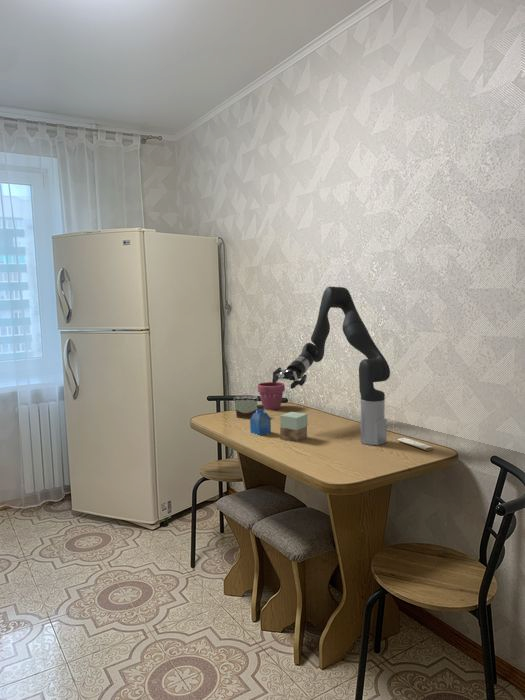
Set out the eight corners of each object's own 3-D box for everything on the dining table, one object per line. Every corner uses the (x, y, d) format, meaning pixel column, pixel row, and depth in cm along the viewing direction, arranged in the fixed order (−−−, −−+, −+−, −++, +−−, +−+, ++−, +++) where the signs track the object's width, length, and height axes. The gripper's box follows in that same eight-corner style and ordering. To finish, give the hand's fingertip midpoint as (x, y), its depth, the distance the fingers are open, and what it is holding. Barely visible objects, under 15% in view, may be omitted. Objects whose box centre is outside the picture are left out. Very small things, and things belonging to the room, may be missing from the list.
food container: (260, 414, 255) (259, 394, 254) (258, 417, 248) (258, 397, 247) (235, 414, 256) (235, 394, 255) (233, 417, 250) (233, 397, 249)
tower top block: (307, 426, 212) (307, 414, 211) (296, 430, 206) (296, 417, 205) (291, 423, 217) (291, 411, 216) (280, 427, 210) (280, 415, 210)
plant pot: (257, 405, 276) (257, 381, 275) (283, 404, 277) (283, 381, 276) (258, 411, 262) (258, 386, 261) (286, 410, 263) (285, 385, 262)
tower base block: (306, 437, 213) (306, 425, 212) (297, 442, 206) (297, 430, 206) (290, 435, 217) (290, 423, 217) (280, 439, 210) (280, 427, 210)
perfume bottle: (261, 430, 225) (261, 403, 224) (270, 433, 220) (270, 405, 219) (250, 432, 221) (250, 405, 220) (259, 435, 216) (259, 407, 215)
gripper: (284, 356, 234) (267, 372, 221) (313, 364, 228) (297, 381, 215) (284, 370, 237) (267, 387, 225) (312, 378, 231) (297, 396, 219)
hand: (282, 384), depth 220 cm, fingers open, 8 cm apart
